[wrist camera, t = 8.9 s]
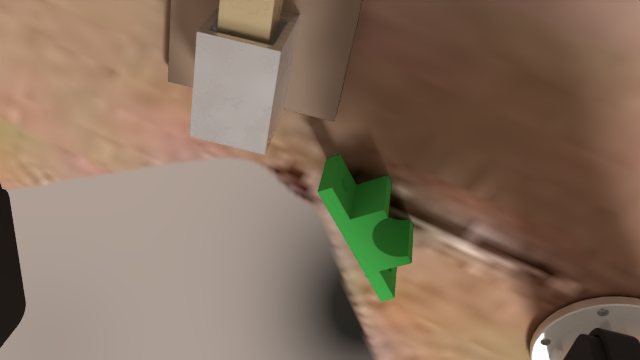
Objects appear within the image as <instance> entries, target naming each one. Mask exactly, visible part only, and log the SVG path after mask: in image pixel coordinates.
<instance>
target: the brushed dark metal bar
mask: <svg viewBox="0 0 640 360" xmlns="http://www.w3.org/2000/svg"><path fill="white" fill-rule="evenodd" d="M282 5H283V0H220V3H219V15H218V26H217V32H218V33H222V34H226V35H230V36H234V37H238V38H243V39H247V40H251V41H255V42H259V43H263V44H268V45H272V46H274V45H275V43H276V42H277V38H278V31H279V25H280V18H281V11H282Z"/></svg>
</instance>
